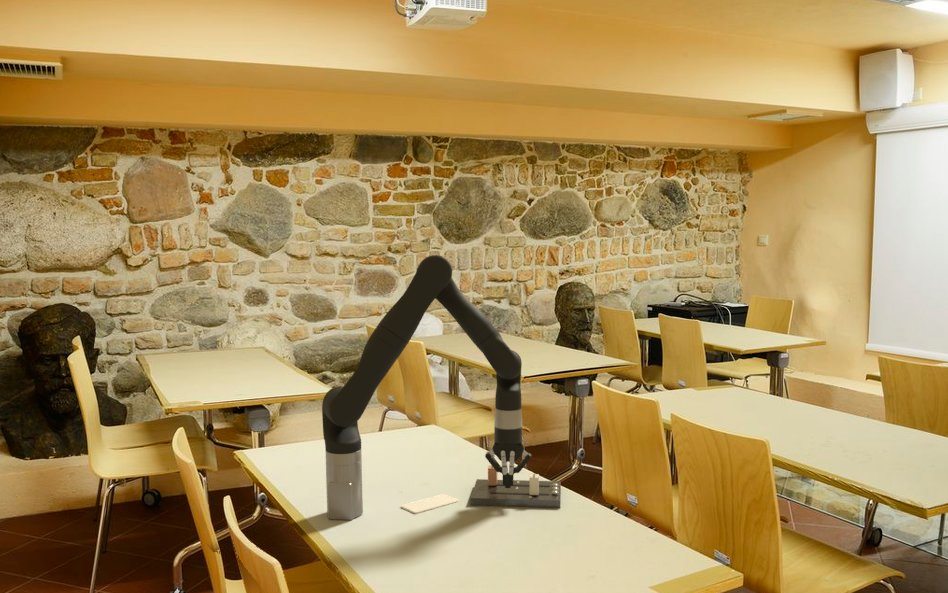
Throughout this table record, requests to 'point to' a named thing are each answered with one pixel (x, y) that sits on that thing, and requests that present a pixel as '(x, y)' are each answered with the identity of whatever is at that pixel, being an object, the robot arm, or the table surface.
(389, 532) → the table surface
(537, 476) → the fader
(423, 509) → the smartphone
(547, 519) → the table surface
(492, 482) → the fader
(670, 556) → the table surface
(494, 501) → the console
